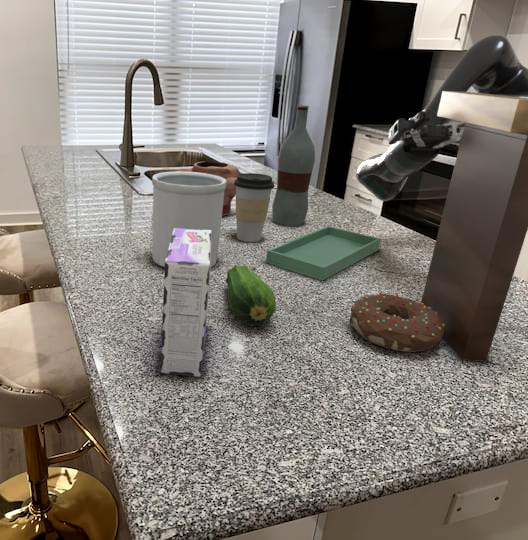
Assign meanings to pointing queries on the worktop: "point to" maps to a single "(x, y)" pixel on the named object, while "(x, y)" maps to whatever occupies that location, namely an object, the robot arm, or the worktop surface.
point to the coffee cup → (252, 204)
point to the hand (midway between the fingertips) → (454, 114)
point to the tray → (323, 252)
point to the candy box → (185, 301)
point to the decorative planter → (222, 171)
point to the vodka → (294, 174)
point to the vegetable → (249, 296)
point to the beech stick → (486, 110)
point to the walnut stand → (479, 238)
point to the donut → (396, 322)
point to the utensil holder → (185, 208)
